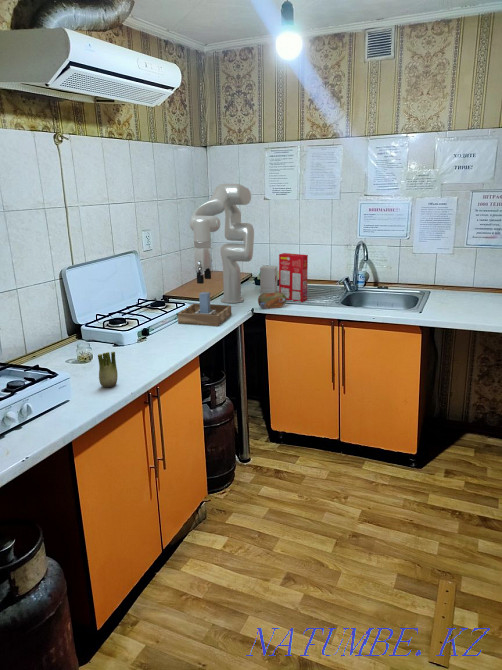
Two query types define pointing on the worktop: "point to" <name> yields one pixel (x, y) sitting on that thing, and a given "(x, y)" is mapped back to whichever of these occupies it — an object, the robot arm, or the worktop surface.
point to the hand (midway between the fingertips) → (204, 281)
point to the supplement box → (268, 279)
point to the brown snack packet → (272, 300)
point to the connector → (204, 302)
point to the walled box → (204, 315)
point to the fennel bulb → (107, 369)
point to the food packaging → (293, 276)
